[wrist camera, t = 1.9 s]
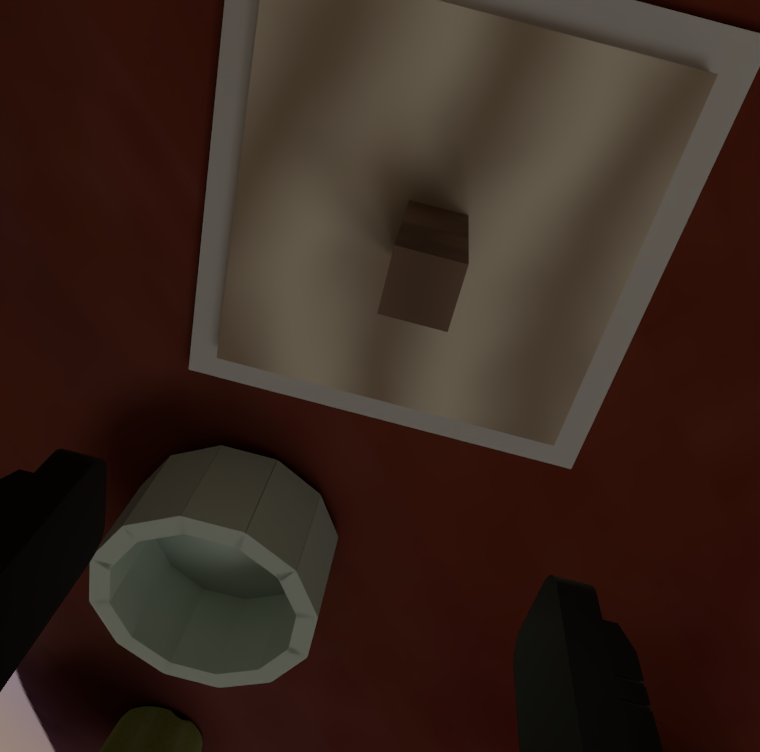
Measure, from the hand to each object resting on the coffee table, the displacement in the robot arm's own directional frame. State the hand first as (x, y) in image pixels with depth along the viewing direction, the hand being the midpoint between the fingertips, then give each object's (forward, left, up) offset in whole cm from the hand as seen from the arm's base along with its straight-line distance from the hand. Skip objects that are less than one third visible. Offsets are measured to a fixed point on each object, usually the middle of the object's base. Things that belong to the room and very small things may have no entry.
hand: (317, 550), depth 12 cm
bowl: (+5, +18, -19) cm, 26 cm away
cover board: (-1, -1, -18) cm, 18 cm away
